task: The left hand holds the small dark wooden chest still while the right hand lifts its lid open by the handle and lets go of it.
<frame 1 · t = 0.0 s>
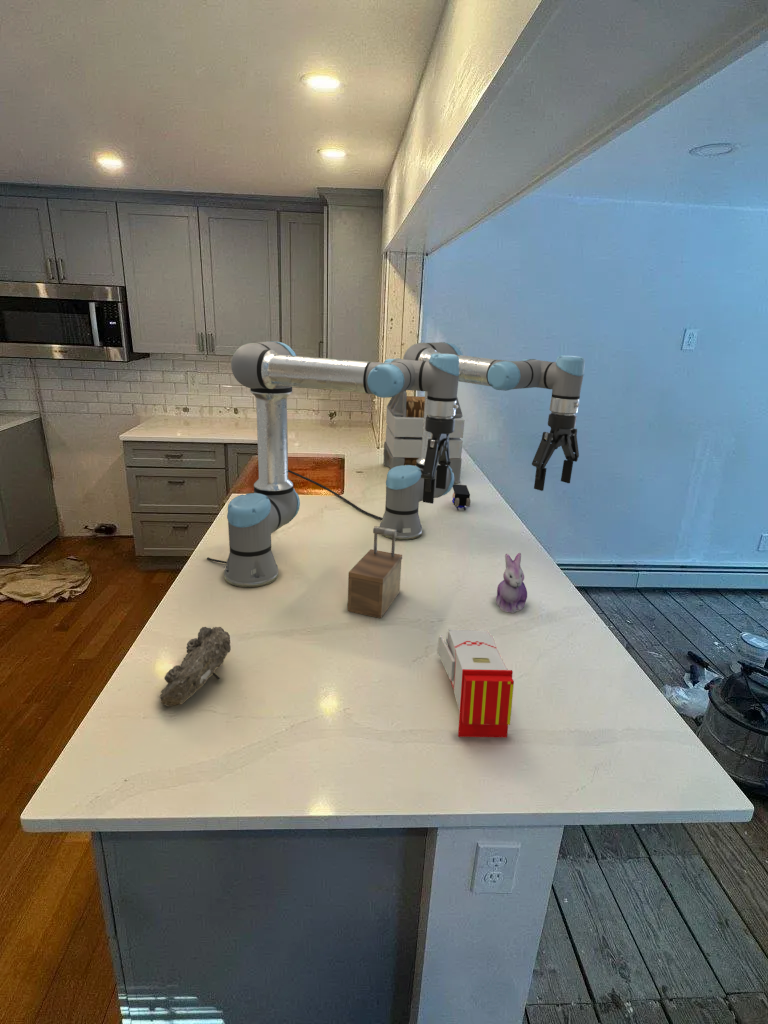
left hand: (434, 495, 152), 28 cm above the counter, tool pointing down, fingers open, 13 cm apart
right hand: (552, 485, 166), 28 cm above the counter, tool pointing down, fingers open, 13 cm apart
figurine: (510, 605, 154), on the counter
toy: (469, 691, 119), on the counter
chest: (374, 601, 153), on the counter
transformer: (419, 473, 275), on the counter
fossil: (201, 677, 119), on the counter
figurine character: (459, 506, 231), on the counter
lid: (376, 551, 149), point 15 cm above the counter, hinge at 0.0°
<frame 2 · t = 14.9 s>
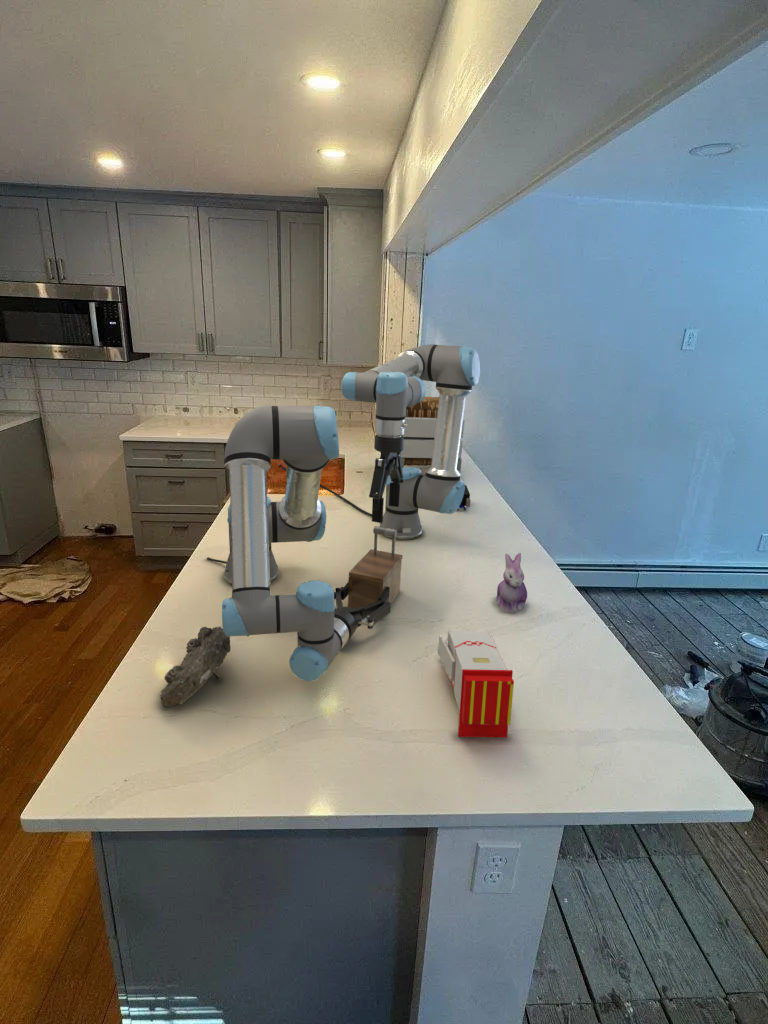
left hand: (369, 587, 147), 6 cm above the counter, tool horizontal, fingers closed on chest, 9 cm apart
right hand: (385, 513, 151), 23 cm above the counter, tool pointing down, fingers open, 13 cm apart
chest: (374, 601, 153), on the counter, touching left hand
everything else where it was.
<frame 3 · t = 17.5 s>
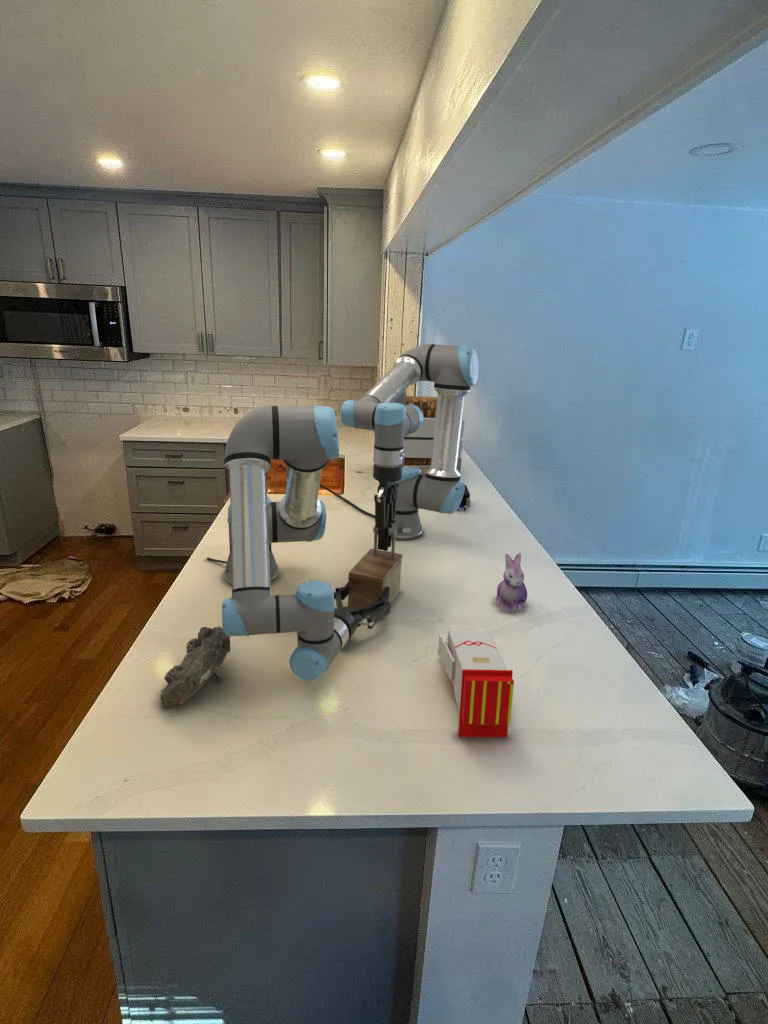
left hand: (369, 587, 147), 6 cm above the counter, tool horizontal, fingers closed on chest, 9 cm apart
right hand: (384, 547, 154), 13 cm above the counter, tool pointing down, fingers closed on lid, 2 cm apart
chest: (374, 601, 153), on the counter, touching left hand
lid: (377, 551, 149), point 15 cm above the counter, hinge at 0.8°, touching right hand
everything else where it was.
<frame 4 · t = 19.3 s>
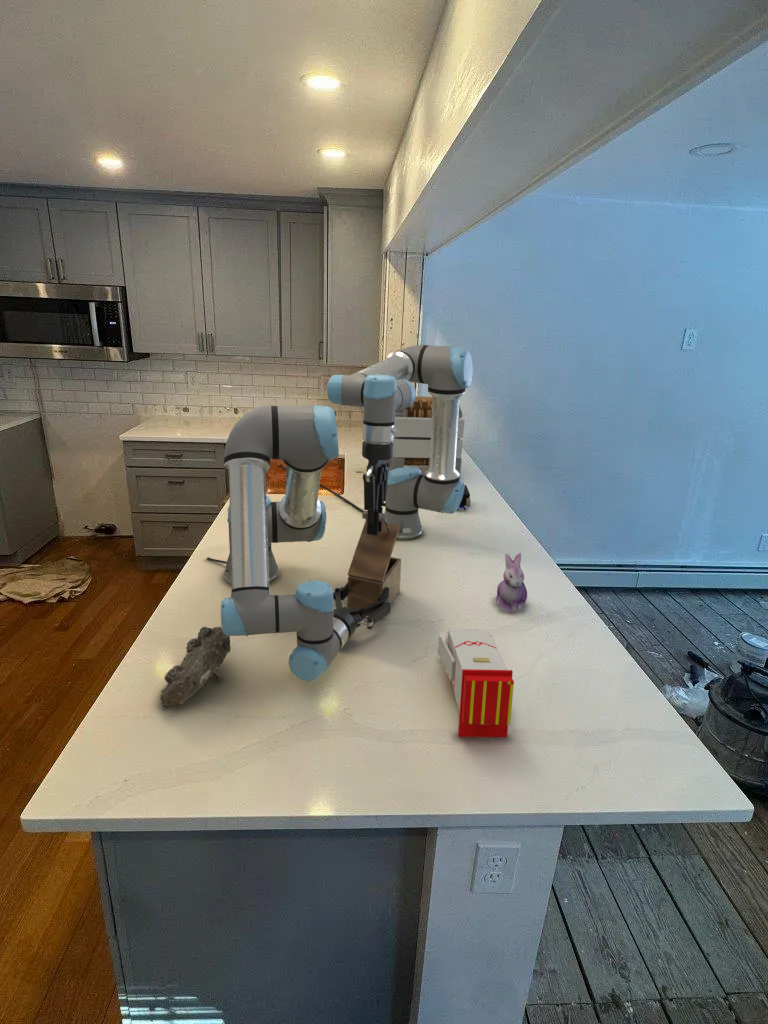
left hand: (369, 588, 147), 6 cm above the counter, tool horizontal, fingers closed on chest, 9 cm apart
right hand: (374, 532, 144), 21 cm above the counter, tool pointing down, fingers closed on lid, 2 cm apart
chest: (374, 600, 153), on the counter, touching left hand
lid: (371, 543, 143), point 19 cm above the counter, hinge at 39.0°, touching right hand
everything else where it was.
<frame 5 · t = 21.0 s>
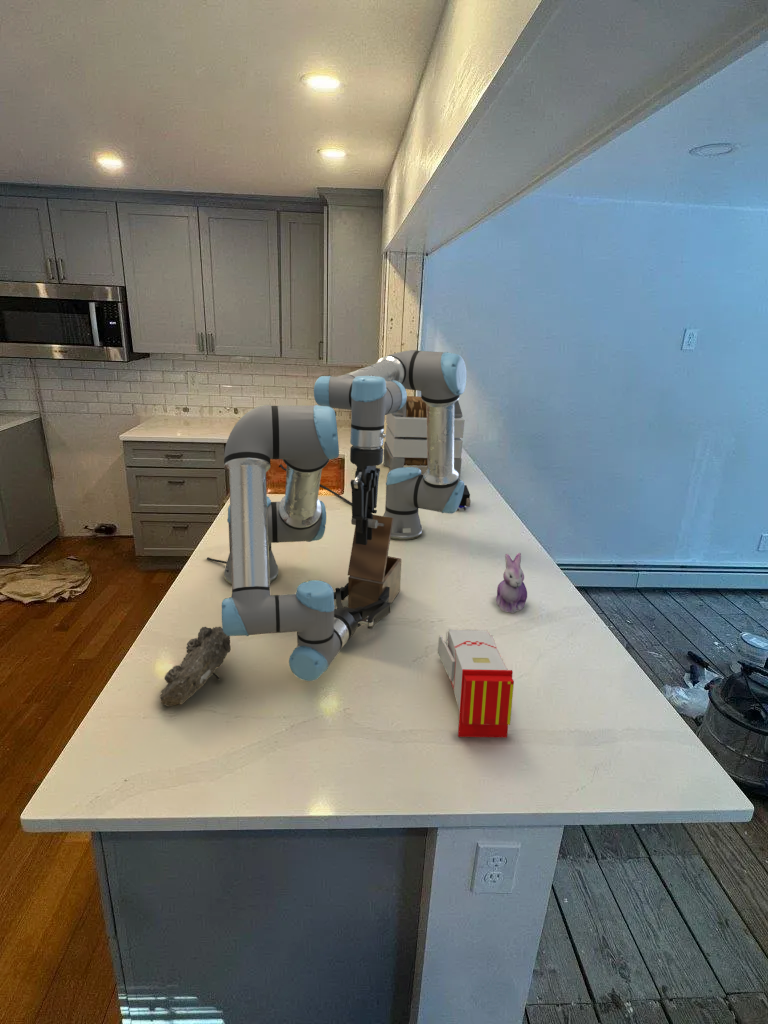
left hand: (369, 588, 147), 6 cm above the counter, tool horizontal, fingers closed on chest, 9 cm apart
right hand: (363, 541, 137), 22 cm above the counter, tool pointing down, fingers open, 3 cm apart
chest: (374, 600, 153), on the counter, touching left hand
lid: (365, 546, 139), point 20 cm above the counter, hinge at 66.5°
everything else where it was.
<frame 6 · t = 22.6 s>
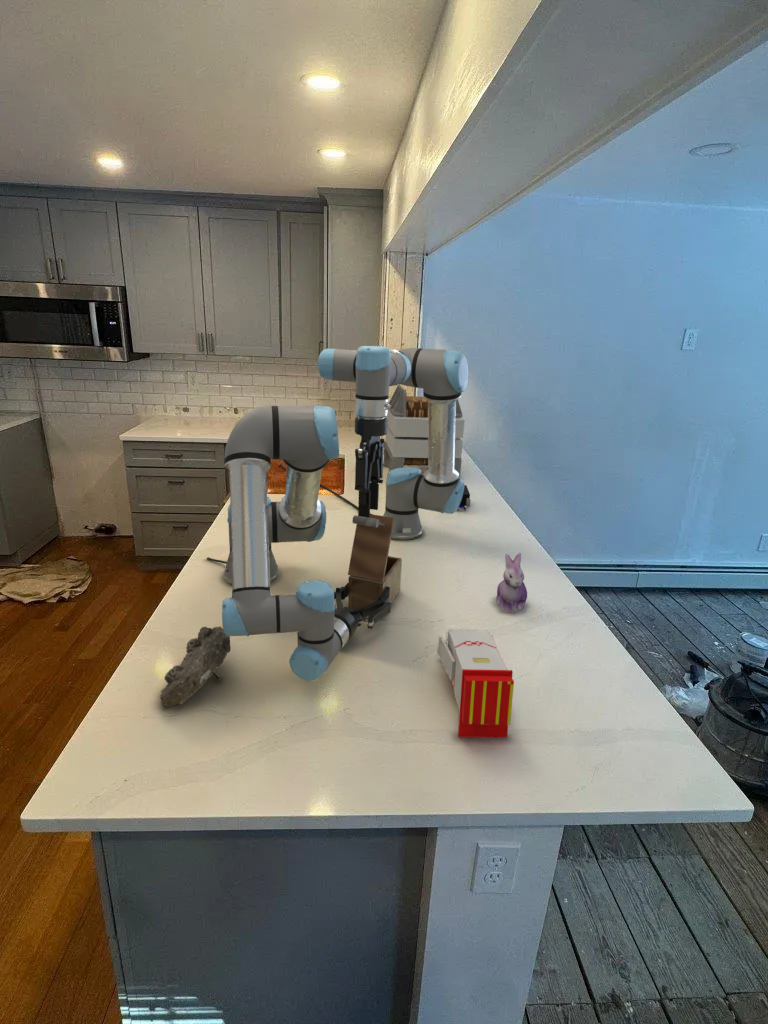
left hand: (369, 587, 147), 6 cm above the counter, tool horizontal, fingers closed on chest, 9 cm apart
right hand: (368, 512, 137), 28 cm above the counter, tool pointing down, fingers open, 5 cm apart
chest: (375, 600, 153), on the counter, touching left hand
lid: (366, 546, 139), point 20 cm above the counter, hinge at 64.6°
everything else where it was.
when the left hand's fingers open (6 cm above the counter, at t = 25.2 s): chest stays where it is, on the counter.
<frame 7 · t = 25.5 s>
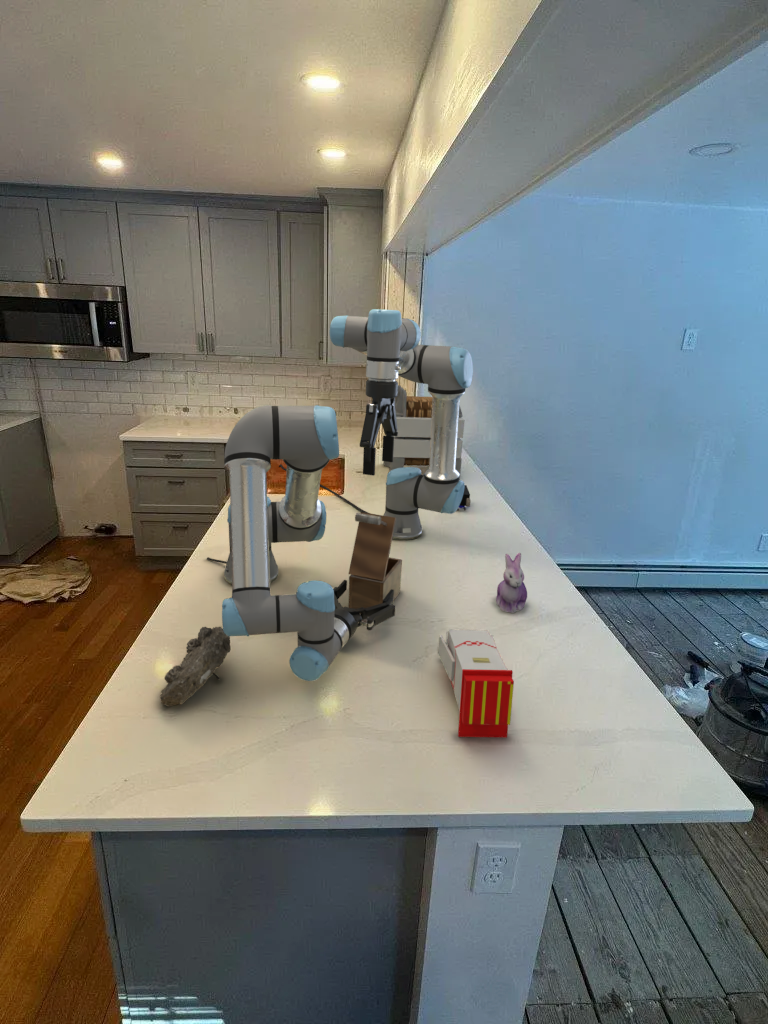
left hand: (368, 589, 146), 6 cm above the counter, tool horizontal, fingers open, 12 cm apart
right hand: (378, 467, 139), 38 cm above the counter, tool pointing down, fingers open, 13 cm apart
chest: (375, 601, 153), on the counter
lid: (367, 544, 140), point 20 cm above the counter, hinge at 62.7°
everything else where it was.
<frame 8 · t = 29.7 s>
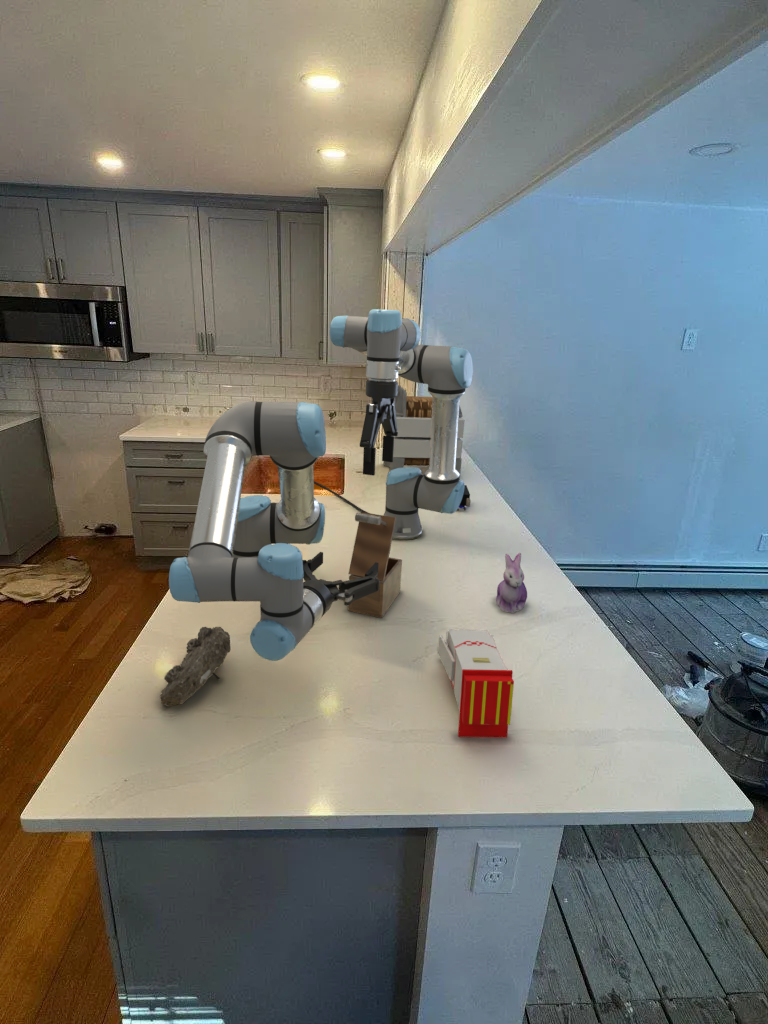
left hand: (348, 562, 129), 20 cm above the counter, tool horizontal, fingers open, 13 cm apart
right hand: (378, 467, 139), 38 cm above the counter, tool pointing down, fingers open, 13 cm apart
nothing on the counter moved.
at the end: lid at +63° (first picture: +0°); the left hand is holding nothing; the right hand is holding nothing; chest tilted 0°; chest never tilted more than 3° during the clip; chest moved 0.3 cm from its start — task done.
